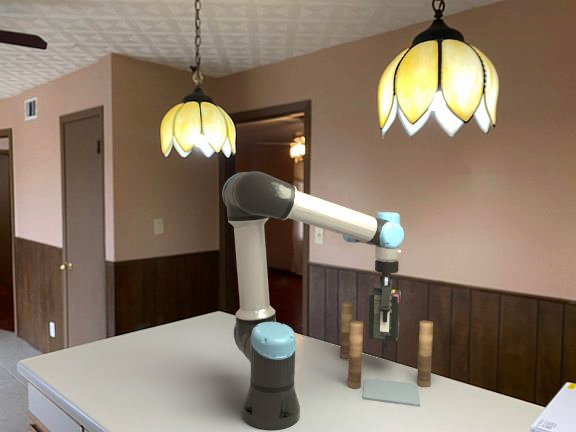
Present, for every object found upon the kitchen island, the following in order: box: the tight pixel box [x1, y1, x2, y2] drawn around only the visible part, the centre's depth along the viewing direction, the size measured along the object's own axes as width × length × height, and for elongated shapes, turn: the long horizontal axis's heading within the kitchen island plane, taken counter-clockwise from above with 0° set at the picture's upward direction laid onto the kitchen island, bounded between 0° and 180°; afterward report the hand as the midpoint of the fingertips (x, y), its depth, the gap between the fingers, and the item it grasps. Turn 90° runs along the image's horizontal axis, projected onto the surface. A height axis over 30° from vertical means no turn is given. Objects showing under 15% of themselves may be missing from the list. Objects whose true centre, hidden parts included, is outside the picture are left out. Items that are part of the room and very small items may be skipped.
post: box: [416, 319, 434, 388], centre depth 138 cm, size 4×4×20 cm
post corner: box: [347, 320, 364, 390], centre depth 136 cm, size 4×4×20 cm
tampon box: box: [367, 287, 402, 343], centre depth 145 cm, size 11×9×15 cm
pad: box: [362, 377, 421, 407], centre depth 133 cm, size 14×16×1 cm
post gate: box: [339, 301, 354, 361], centre depth 159 cm, size 4×4×20 cm
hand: (384, 325), depth 145 cm, fingers closed on tampon box, 11 cm apart
